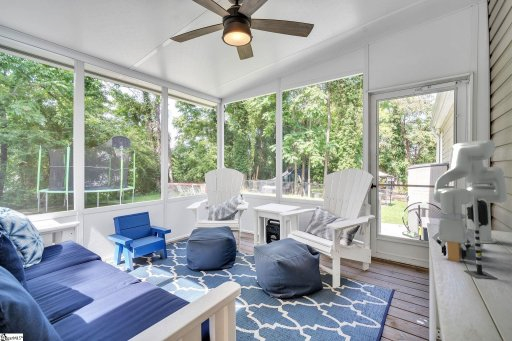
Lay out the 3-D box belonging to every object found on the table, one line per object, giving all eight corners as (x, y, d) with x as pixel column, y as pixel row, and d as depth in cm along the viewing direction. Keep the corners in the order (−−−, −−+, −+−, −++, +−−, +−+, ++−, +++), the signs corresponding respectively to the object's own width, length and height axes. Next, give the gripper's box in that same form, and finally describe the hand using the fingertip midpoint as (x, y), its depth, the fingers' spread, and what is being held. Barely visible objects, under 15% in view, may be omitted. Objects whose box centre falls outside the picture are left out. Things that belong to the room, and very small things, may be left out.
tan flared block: (448, 257, 112) (447, 237, 112) (461, 260, 109) (460, 239, 109) (446, 259, 110) (445, 239, 110) (460, 262, 106) (459, 241, 107)
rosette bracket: (456, 244, 132) (455, 226, 132) (484, 248, 124) (483, 228, 124) (449, 256, 114) (447, 234, 115) (480, 261, 106) (479, 238, 107)
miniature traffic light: (499, 279, 88) (494, 197, 89) (475, 278, 90) (470, 197, 91) (484, 271, 96) (479, 195, 97) (462, 270, 97) (458, 196, 98)
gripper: (477, 217, 106) (480, 258, 106) (430, 214, 119) (432, 251, 118) (476, 219, 101) (479, 263, 100) (427, 216, 113) (429, 254, 113)
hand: (454, 256), depth 109 cm, fingers open, 5 cm apart
